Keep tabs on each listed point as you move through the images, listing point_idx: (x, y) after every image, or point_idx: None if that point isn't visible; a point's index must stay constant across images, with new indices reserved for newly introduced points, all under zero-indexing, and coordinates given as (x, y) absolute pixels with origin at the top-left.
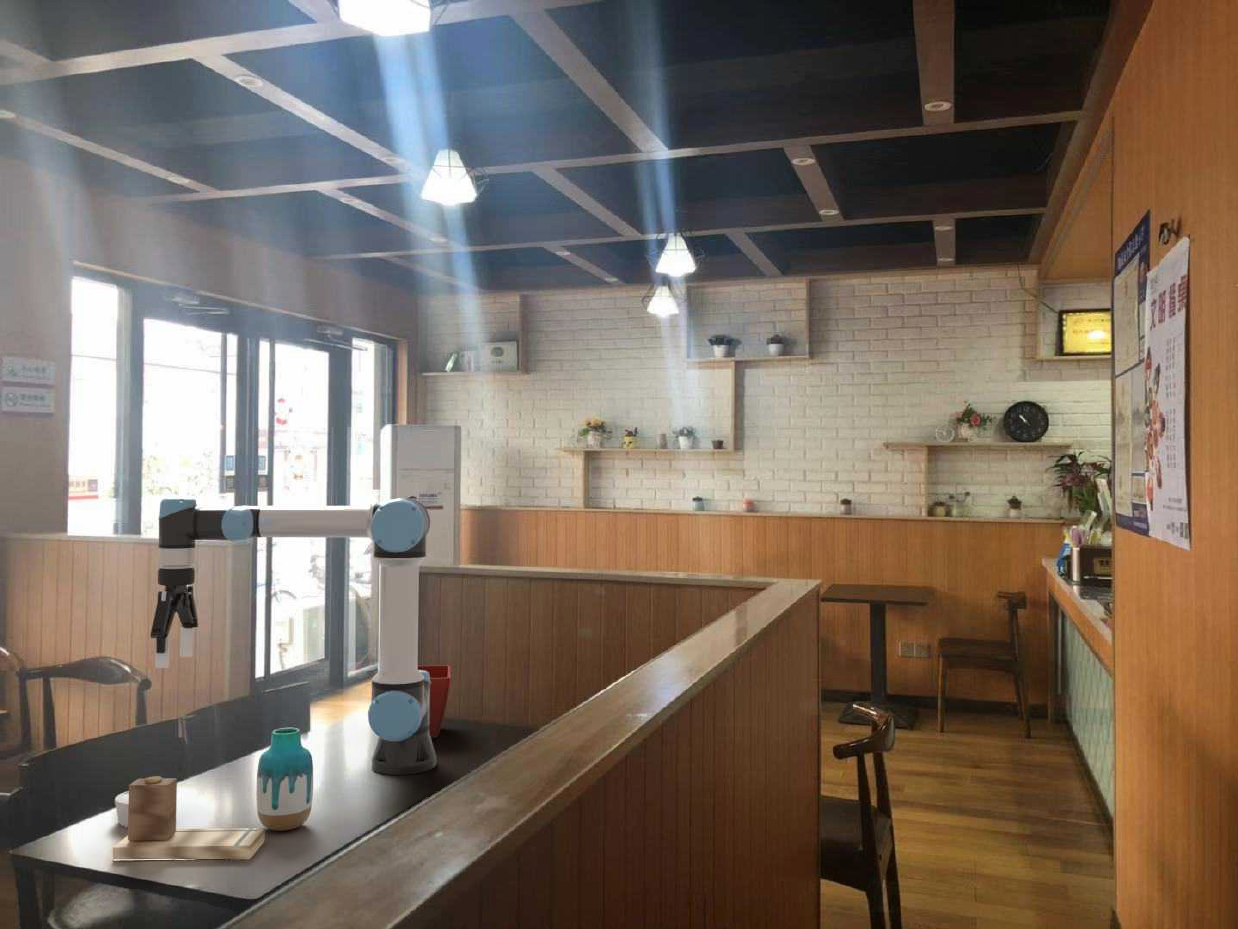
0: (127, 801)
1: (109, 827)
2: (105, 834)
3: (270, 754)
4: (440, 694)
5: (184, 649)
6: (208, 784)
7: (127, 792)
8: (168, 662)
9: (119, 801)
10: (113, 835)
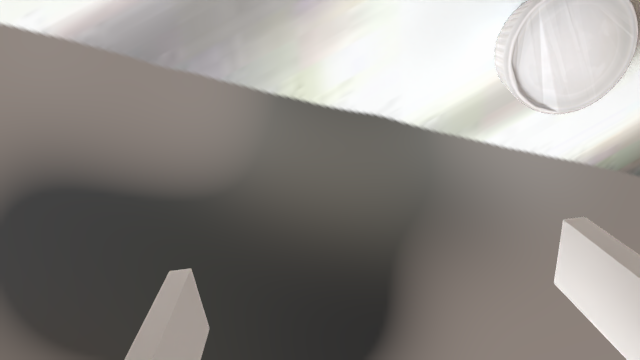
0: (616, 67)
1: None
2: None
3: None
4: None
5: (188, 344)
6: (295, 35)
7: (540, 106)
8: (599, 236)
9: (613, 85)
10: None
